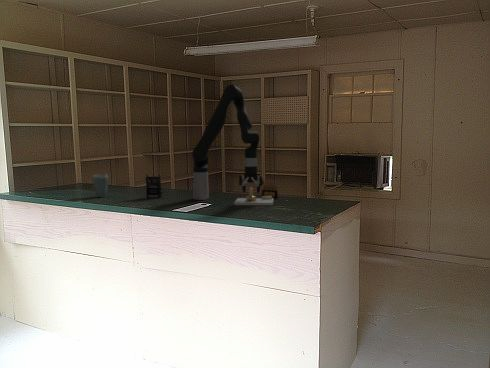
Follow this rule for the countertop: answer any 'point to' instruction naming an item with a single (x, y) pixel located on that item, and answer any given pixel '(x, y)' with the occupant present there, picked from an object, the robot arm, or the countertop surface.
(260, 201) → the base plate
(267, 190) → the ammunition clip
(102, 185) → the disposable coffee cup
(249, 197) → the levelling knob
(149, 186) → the geiger counter
